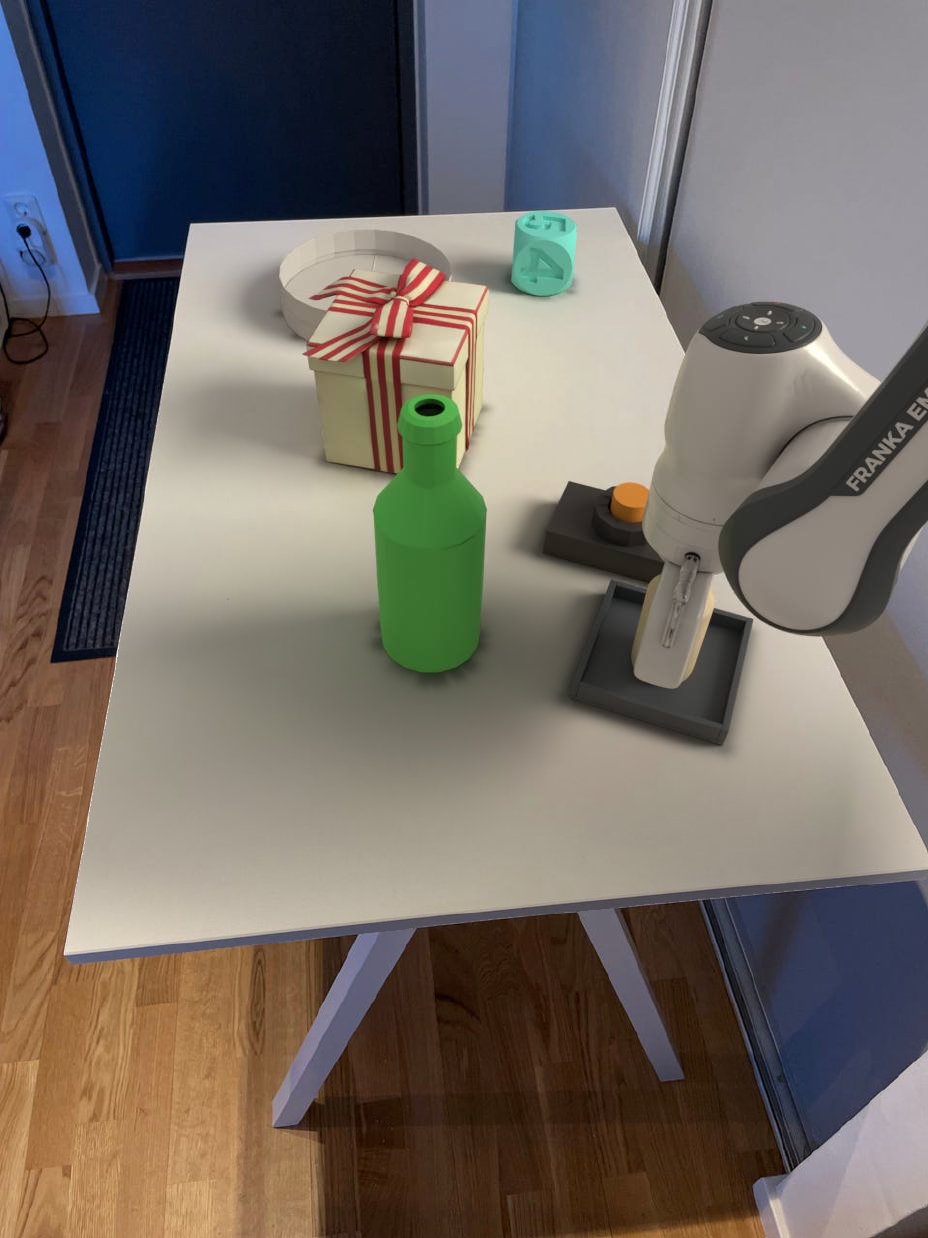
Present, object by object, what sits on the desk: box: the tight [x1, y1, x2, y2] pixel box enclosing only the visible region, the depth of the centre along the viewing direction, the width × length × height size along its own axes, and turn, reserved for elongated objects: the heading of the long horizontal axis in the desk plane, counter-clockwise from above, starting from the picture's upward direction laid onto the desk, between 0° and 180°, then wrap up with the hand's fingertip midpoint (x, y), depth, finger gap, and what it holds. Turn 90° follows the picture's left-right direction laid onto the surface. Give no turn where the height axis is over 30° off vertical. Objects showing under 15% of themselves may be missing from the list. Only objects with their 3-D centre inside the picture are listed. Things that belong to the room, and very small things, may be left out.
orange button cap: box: [610, 481, 649, 523], centre depth 87 cm, size 4×4×2 cm
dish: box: [278, 229, 452, 341], centre depth 118 cm, size 22×22×5 cm
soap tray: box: [568, 579, 754, 746], centre depth 81 cm, size 13×13×2 cm
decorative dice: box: [510, 210, 578, 297], centre depth 122 cm, size 8×8×8 cm
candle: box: [631, 574, 716, 682], centre depth 77 cm, size 6×6×10 cm
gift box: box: [301, 259, 490, 474], centre depth 96 cm, size 17×18×17 cm
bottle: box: [372, 394, 488, 673], centre depth 73 cm, size 9×9×25 cm
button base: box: [542, 480, 665, 583], centre depth 89 cm, size 14×8×5 cm, turn 69°
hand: (669, 636), depth 78 cm, fingers open, 6 cm apart
